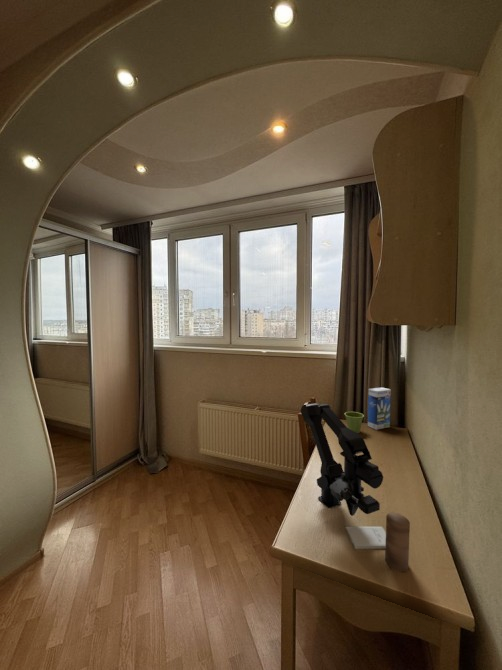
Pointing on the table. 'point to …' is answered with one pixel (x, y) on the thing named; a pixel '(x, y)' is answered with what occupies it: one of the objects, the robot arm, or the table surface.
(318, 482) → the robot arm
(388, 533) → the walnut roller
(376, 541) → the external hard drive
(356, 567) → the table surface
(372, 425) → the string lights box
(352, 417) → the plant pot
